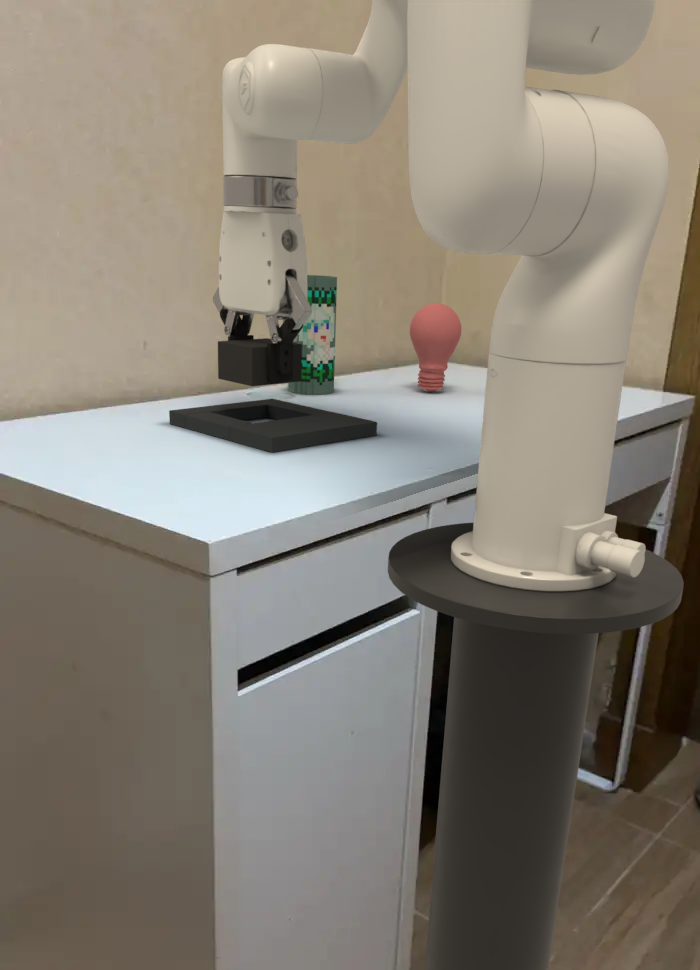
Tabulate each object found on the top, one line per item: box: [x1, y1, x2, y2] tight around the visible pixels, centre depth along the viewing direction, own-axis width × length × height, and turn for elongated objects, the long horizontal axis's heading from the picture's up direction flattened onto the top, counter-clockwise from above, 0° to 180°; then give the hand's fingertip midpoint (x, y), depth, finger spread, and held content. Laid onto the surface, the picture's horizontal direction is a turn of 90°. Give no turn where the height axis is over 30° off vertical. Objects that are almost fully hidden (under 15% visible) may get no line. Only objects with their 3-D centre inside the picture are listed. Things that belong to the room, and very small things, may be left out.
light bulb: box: [409, 302, 462, 393], centre depth 130 cm, size 7×7×12 cm
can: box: [287, 274, 338, 396], centre depth 127 cm, size 6×6×15 cm
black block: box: [217, 337, 302, 387], centre depth 103 cm, size 6×7×4 cm
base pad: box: [168, 398, 378, 453], centre depth 104 cm, size 18×15×2 cm
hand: (260, 374), depth 103 cm, fingers closed on black block, 6 cm apart
